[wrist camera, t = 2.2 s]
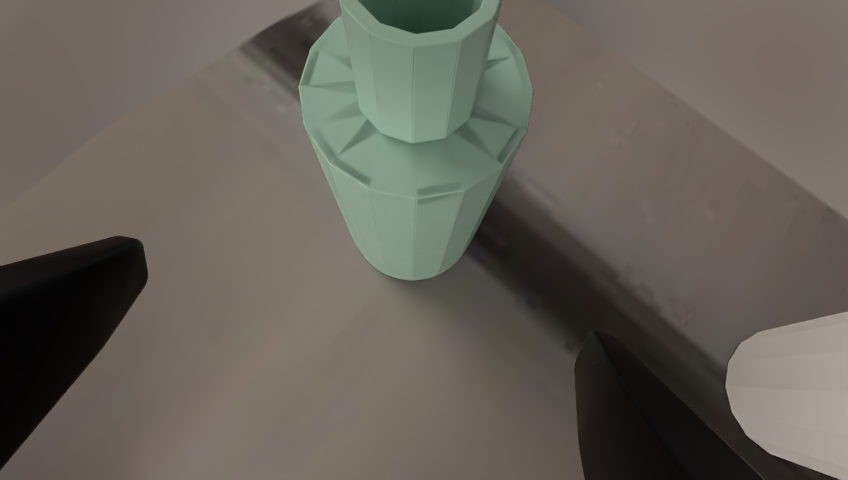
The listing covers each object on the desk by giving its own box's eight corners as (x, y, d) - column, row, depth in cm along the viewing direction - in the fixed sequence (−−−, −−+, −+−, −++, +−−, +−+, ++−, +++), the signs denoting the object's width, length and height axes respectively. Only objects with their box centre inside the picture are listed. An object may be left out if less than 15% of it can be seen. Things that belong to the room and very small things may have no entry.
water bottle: (484, 268, 22) (623, 91, 8) (362, 291, 21) (274, 146, 7) (458, 156, 23) (536, -162, 9) (343, 175, 23) (240, -130, 9)
